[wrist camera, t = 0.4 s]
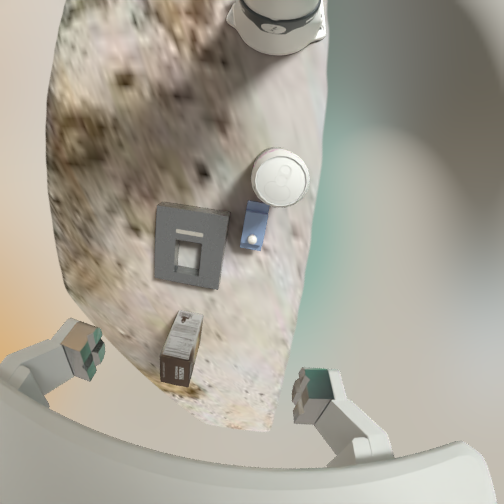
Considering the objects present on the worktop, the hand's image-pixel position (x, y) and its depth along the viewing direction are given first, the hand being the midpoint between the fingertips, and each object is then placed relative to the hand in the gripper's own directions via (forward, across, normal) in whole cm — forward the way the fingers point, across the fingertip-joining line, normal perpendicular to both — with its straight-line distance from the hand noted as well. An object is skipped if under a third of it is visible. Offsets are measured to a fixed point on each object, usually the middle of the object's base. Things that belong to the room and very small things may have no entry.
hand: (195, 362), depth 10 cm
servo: (+45, -3, +8) cm, 45 cm away
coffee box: (+45, +8, +37) cm, 59 cm away
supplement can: (+45, -5, -3) cm, 45 cm away
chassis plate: (+44, +9, +15) cm, 48 cm away
